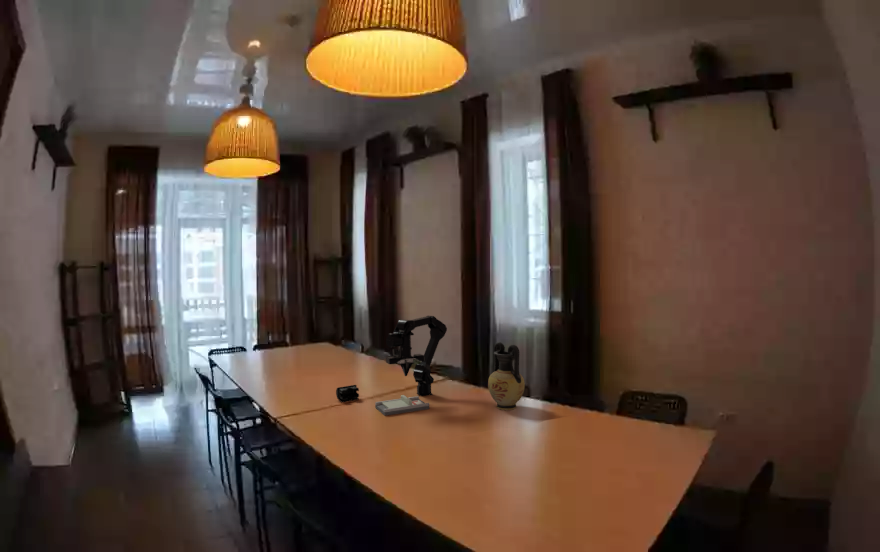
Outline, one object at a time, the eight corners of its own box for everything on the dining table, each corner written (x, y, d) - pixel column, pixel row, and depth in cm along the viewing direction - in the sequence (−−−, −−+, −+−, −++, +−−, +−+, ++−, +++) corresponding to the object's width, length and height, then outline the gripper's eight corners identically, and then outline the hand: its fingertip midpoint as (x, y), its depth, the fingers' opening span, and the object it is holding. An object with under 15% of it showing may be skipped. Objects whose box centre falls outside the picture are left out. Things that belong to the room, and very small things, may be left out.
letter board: (418, 401, 252) (418, 396, 251) (429, 408, 239) (429, 403, 239) (375, 407, 242) (375, 402, 242) (384, 415, 230) (384, 409, 230)
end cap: (354, 396, 264) (354, 383, 264) (359, 399, 258) (359, 386, 258) (336, 399, 259) (335, 386, 258) (341, 402, 253) (340, 389, 252)
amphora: (532, 406, 239) (531, 343, 238) (511, 415, 227) (510, 348, 226) (502, 400, 251) (500, 339, 250) (480, 407, 239) (479, 344, 238)
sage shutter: (403, 401, 247) (403, 394, 247) (412, 406, 237) (412, 400, 236) (381, 404, 242) (381, 397, 242) (389, 410, 232) (389, 403, 232)
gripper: (416, 341, 266) (417, 371, 266) (382, 344, 258) (383, 374, 258) (424, 344, 256) (425, 375, 256) (389, 347, 248) (390, 379, 248)
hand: (405, 376), depth 255 cm, fingers closed
